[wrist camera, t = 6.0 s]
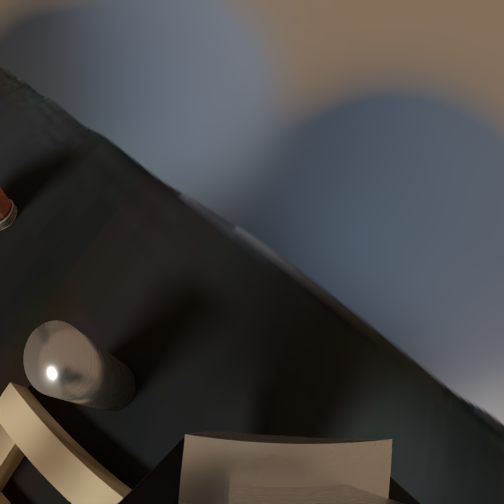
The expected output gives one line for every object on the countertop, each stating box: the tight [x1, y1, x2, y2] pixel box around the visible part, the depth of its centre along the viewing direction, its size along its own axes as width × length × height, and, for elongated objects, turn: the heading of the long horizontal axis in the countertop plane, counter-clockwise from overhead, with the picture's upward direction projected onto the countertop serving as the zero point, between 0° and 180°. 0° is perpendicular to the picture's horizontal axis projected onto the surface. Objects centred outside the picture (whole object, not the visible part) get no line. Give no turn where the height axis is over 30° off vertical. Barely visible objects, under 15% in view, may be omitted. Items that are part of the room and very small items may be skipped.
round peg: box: [23, 321, 136, 411], centre depth 13 cm, size 3×3×7 cm
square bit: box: [178, 430, 403, 504], centre depth 7 cm, size 4×4×12 cm
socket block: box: [0, 382, 131, 504], centre depth 11 cm, size 11×11×2 cm
